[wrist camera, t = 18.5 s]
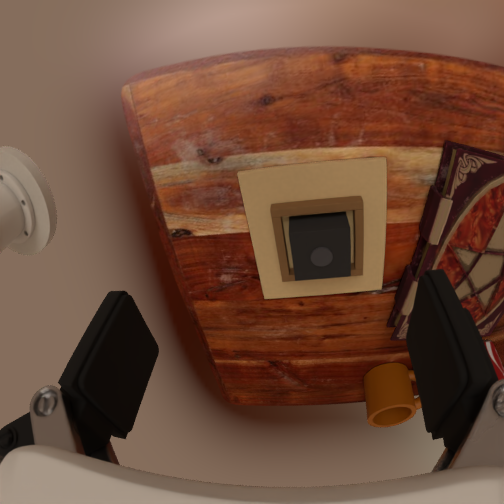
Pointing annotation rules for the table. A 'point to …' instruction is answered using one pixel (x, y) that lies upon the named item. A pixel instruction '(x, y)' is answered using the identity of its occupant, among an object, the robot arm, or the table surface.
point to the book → (461, 238)
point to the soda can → (494, 359)
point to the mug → (390, 395)
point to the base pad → (317, 202)
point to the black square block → (320, 246)
